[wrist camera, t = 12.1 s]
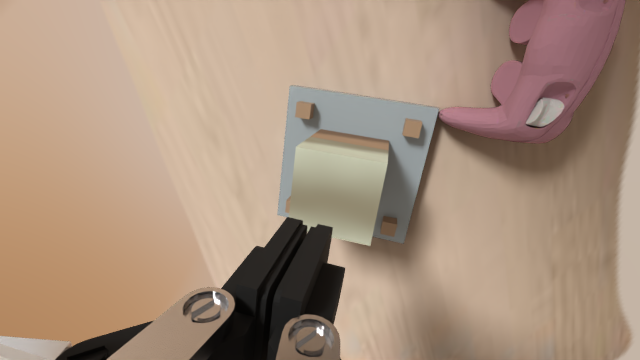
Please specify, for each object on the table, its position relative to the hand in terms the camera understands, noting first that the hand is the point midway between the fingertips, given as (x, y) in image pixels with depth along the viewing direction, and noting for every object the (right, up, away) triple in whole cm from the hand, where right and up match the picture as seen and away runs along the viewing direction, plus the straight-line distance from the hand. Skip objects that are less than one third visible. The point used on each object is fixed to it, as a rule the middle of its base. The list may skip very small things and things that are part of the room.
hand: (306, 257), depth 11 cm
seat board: (+3, +4, +12) cm, 13 cm away
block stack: (+3, +4, +11) cm, 12 cm away
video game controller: (+12, +11, +8) cm, 18 cm away
